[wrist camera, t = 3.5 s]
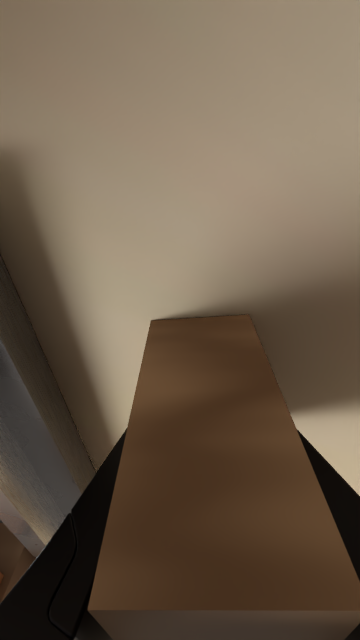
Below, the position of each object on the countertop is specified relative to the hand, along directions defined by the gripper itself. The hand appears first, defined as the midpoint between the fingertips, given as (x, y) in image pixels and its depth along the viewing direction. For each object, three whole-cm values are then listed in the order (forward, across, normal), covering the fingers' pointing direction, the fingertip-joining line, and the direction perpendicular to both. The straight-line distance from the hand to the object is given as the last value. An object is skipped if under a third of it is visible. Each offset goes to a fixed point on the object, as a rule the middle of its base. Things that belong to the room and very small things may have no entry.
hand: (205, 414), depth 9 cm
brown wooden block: (+2, 0, 0) cm, 2 cm away
